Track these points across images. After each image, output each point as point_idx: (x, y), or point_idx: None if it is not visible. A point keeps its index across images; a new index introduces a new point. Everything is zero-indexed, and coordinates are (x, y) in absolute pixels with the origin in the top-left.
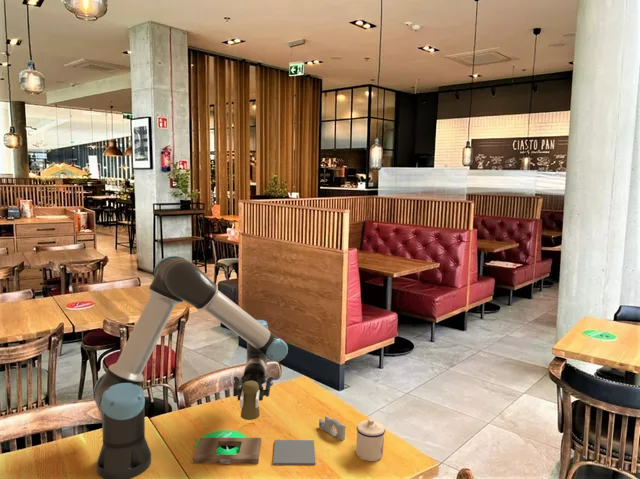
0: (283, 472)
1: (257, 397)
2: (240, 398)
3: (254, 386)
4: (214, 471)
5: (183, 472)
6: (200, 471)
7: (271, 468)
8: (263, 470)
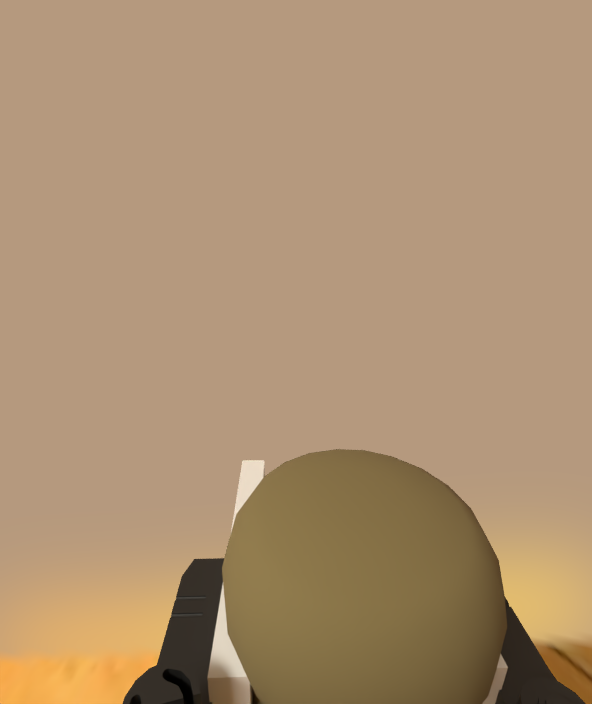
0: (136, 662)
1: (248, 484)
2: None
3: (286, 463)
4: None
5: (565, 649)
6: None
7: None
8: None
